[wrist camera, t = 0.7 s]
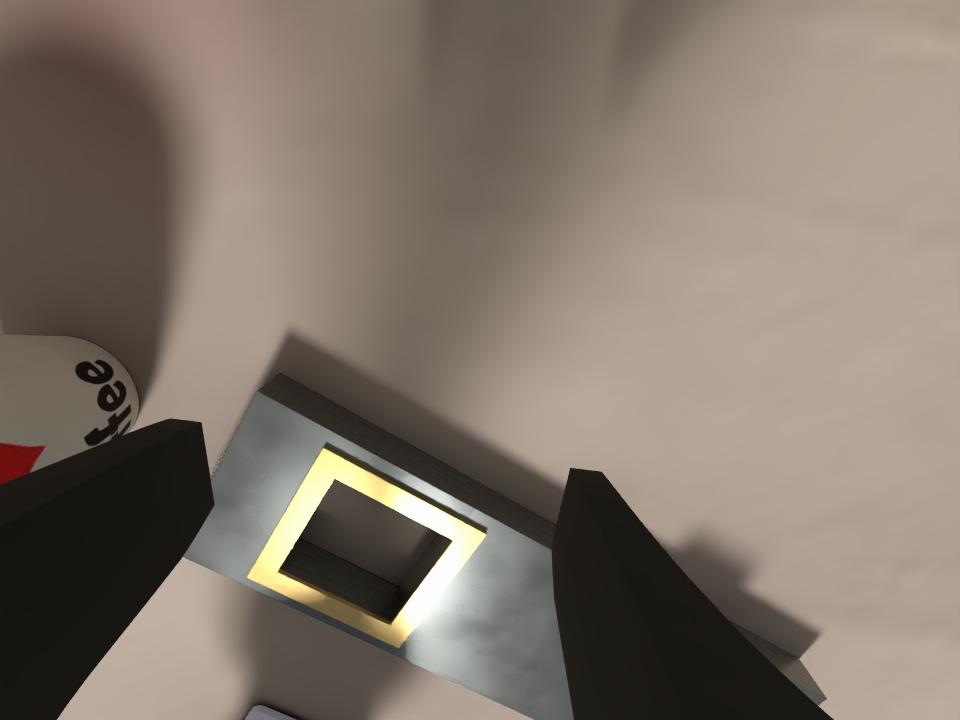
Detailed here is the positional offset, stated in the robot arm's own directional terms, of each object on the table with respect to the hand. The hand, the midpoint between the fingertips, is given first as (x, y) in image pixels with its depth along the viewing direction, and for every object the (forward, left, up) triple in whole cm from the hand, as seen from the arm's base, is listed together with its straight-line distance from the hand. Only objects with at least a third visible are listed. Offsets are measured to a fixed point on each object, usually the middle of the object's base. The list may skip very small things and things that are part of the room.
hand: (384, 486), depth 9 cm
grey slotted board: (-9, -10, -10) cm, 17 cm away
